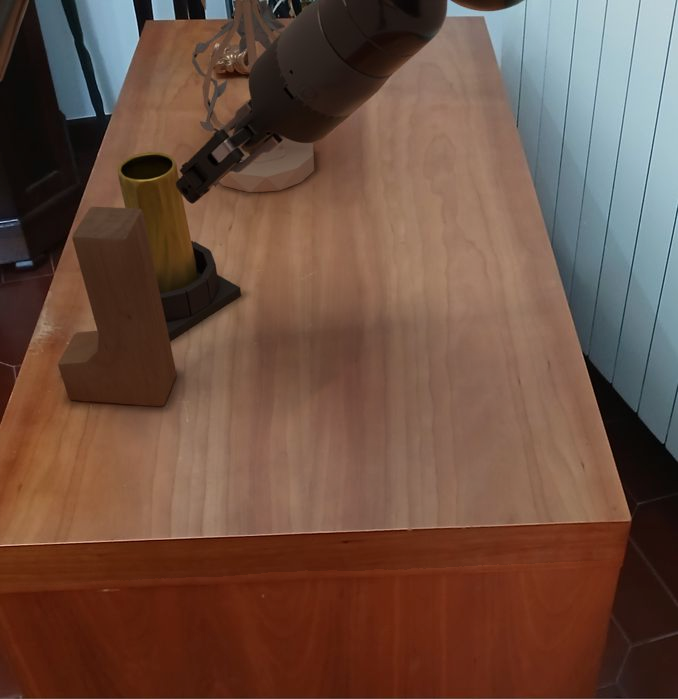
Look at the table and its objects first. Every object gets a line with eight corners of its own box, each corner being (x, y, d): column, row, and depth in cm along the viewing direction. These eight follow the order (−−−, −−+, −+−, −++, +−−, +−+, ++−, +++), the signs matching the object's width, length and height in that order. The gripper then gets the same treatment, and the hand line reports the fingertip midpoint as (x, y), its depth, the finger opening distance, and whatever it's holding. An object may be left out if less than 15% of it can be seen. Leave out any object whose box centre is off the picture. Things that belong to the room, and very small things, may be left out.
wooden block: (67, 401, 82) (13, 233, 71) (84, 367, 86) (35, 202, 74) (164, 408, 81) (126, 238, 70) (178, 374, 85) (143, 206, 73)
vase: (132, 285, 94) (103, 160, 84) (189, 266, 96) (167, 143, 86) (152, 317, 89) (124, 190, 80) (211, 298, 91) (190, 171, 82)
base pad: (164, 344, 88) (157, 312, 85) (101, 303, 93) (93, 271, 91) (241, 295, 93) (237, 262, 91) (178, 258, 99) (172, 227, 96)
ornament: (197, 73, 133) (193, 49, 131) (228, 56, 137) (225, 32, 135) (238, 86, 130) (235, 61, 127) (269, 68, 134) (267, 44, 131)
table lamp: (354, 121, 120) (343, -237, 94) (350, 212, 104) (336, -191, 78) (189, 124, 121) (133, -229, 95) (160, 215, 105) (83, -182, 79)
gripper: (344, -10, 70) (239, 100, 82) (229, 61, 61) (131, 172, 73) (405, 71, 71) (293, 167, 83) (301, 152, 62) (192, 246, 74)
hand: (217, 169), depth 78 cm, fingers open, 8 cm apart
